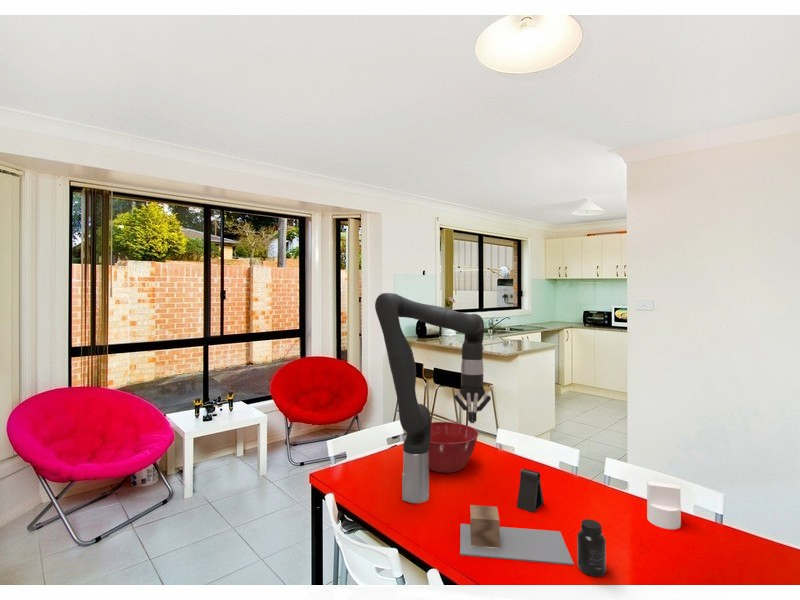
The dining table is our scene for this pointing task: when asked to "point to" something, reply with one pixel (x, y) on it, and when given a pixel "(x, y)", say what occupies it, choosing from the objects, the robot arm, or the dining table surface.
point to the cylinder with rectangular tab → (664, 505)
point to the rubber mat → (520, 545)
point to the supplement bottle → (591, 548)
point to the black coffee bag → (529, 491)
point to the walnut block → (484, 526)
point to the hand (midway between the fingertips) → (472, 422)
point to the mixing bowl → (450, 446)
